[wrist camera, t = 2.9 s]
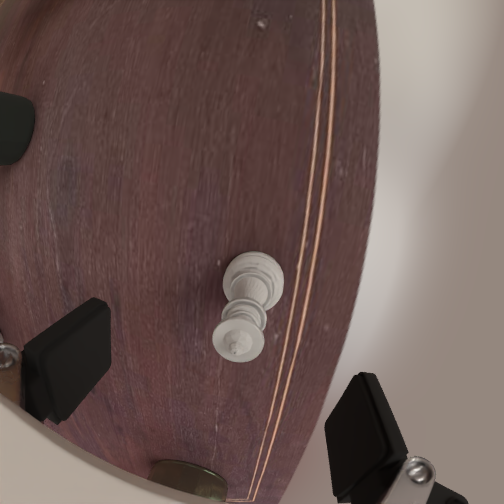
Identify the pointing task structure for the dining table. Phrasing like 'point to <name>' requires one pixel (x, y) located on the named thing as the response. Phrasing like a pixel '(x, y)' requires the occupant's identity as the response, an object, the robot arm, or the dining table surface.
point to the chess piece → (247, 305)
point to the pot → (189, 479)
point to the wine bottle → (14, 126)
